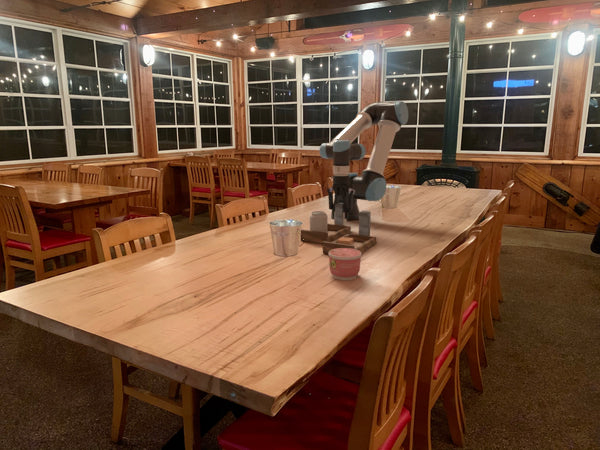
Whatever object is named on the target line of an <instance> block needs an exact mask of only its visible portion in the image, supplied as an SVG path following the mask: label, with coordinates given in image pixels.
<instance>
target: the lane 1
mask: <svg viewBox="0 0 600 450" xmlns="http://www.w3.org/2000/svg"><path fill="white" fill-rule="evenodd" d="M343 212H344V205H343V203H337V204H335V224H334V223H328V224H327V230H330V231H335V232H333V233H332V234H329V232H327V233H325V232H318V231H310V229H302V228H301V229H300V230H301V233H300V241H303V239H304V241H305V242H309V243H310V242H311V243H317V244H323V242H324V241H326V242H334V241H335V240H337V239H339V238H341V237H343V236H345V235H347V234H350V232H351V231H352V230H351V229H352V226H350V225H346V226H343ZM304 241H303V242H304Z"/></svg>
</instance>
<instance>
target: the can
mask: <svg viewBox="0 0 600 450" xmlns="http://www.w3.org/2000/svg"><path fill="white" fill-rule="evenodd" d="M328 219H329V217H328V214H327V212H326V211H323V210H315V211H311V212H310V215H309V230H310V231H318V232H325V233H328V229H327V224H329V223H328V222H329V221H328Z"/></svg>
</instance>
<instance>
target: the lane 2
mask: <svg viewBox="0 0 600 450" xmlns="http://www.w3.org/2000/svg"><path fill="white" fill-rule="evenodd" d="M371 213H372V212H371V211H370V210H369V211H368V210H361V211H359V219H358V234H356V233H347V234H345V235H343V236H342V237H346V238H354V240H353V242H354V241H355V242H363V243H361V244H359V245H358V246H356V247H355V244H353V245H347V244H340V243H338V239H339V238H337V239H335V240H333V241H331V242H326V241H324V242H323V243H322V254H326V255H329V251H330V250H332V249H337V248H351V249H356V250H358V251H360V252H361V253H363V252H364V251H366V250H367V249H369V248H370V247H373V245H375V244H377V240H378V239H377V236H371V215H372V214H371Z"/></svg>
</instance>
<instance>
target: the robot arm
mask: <svg viewBox="0 0 600 450" xmlns="http://www.w3.org/2000/svg"><path fill="white" fill-rule="evenodd" d="M408 120H409V109H408V106H407V103H405V102H404V101H403V100H395V101H377V102H372V103H370V104H369V105H366V106H365V107H363V109H361V110H360V111H359V112H358V113H357V114H356V116H355V118H354V119H353V120H352V121H351V122H350V123H349V124H348V125H347V126H346V127H344V129H342V131H340V132H339V133H337V135H336V136H335V137H334V138H333V139H332V140H331V141H330V142H324V143H321V145H320V146H319V150H318V152H319V156H320V158H322V159H327V160H332V162H333V163H332V174H333V176H332V186H331V187H328V188H327V189H326V190H327V194H328V195H327V196H328V197H327V198H328V210H331V213H330V217H331V219H334V222H333V224H335V204H337V203H343V205H344V212H343V226H348V225H347V223H348V222H347V221H355V220H356V221H357V220H359V212H360V209H359V206H358V200H360V201H361V200H362V201H367V202H378V201H380V200H382V198H383V197H384V196H385V194H386V191H387V180H386V178H385V174H384V171H385V168H386V165H387V162H388V159H389V157H390V156H389V155H390V152H391V149H392V145H393V142H394V139H395V136H396V133H398V132H399V131H400V130H401V127H402V126H404V125H406V124H407V123H408ZM376 125H378V127H379V129H378V131H377V134H376V138H375V141H374V143H373V148H372V150H371V154H370V157H369V159H368V163H367V167H366V169H363V170H362V171H361V174H360V175H359V174H358V173H357V172H350V171H351V170H350V166H351V165H350V163H351V162H350V161H359V160H362V159H363V158H365V156H366V154H367V152H366V151H367V150H366V147H365V146H364V144H361V143H353V142H354V141H355V140H356V139H357V138H358V137H359V136H360V135H361V134H362V133H363V132H364V131H366V130H367V129H370V128H371V127H372V126H376ZM333 192H334V194H333Z"/></svg>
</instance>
